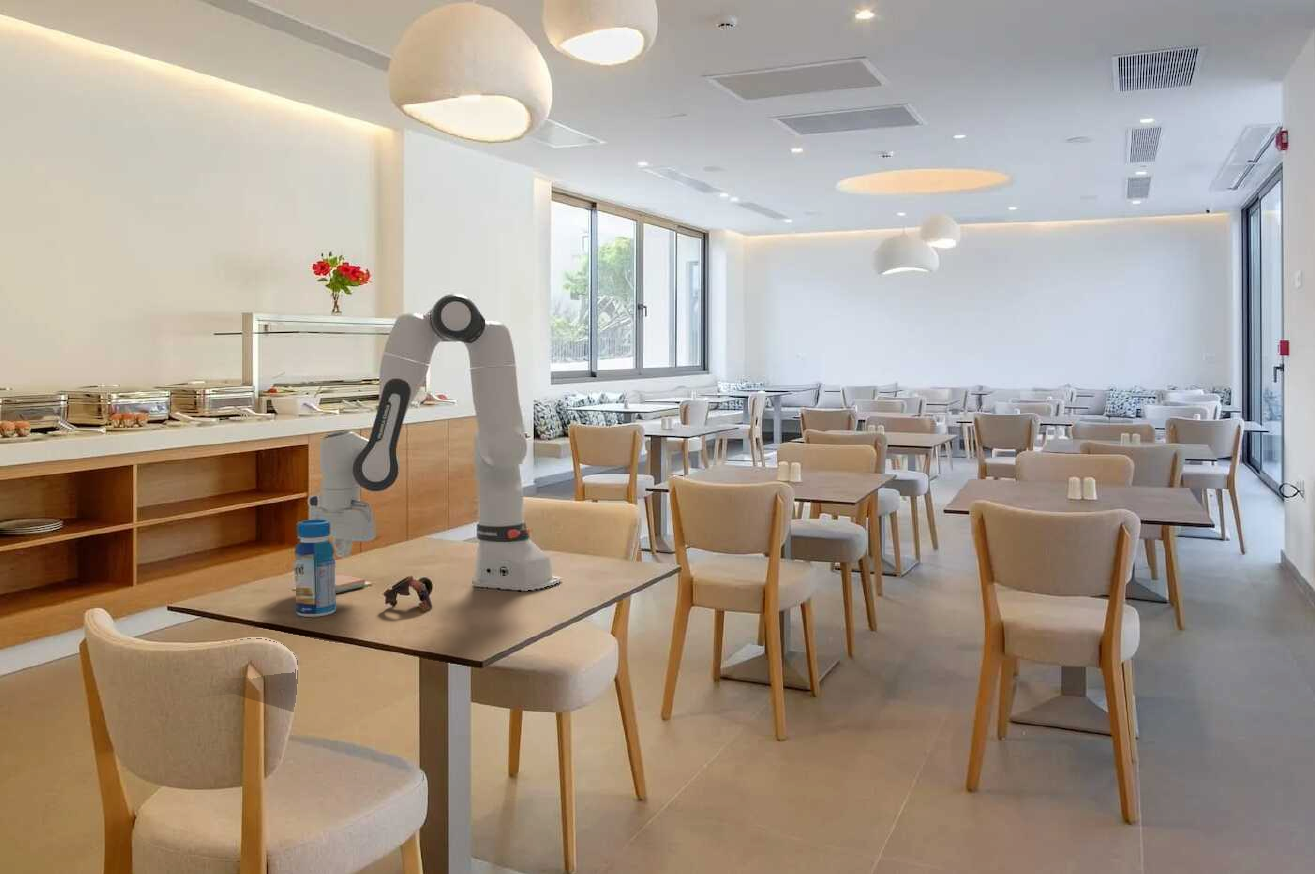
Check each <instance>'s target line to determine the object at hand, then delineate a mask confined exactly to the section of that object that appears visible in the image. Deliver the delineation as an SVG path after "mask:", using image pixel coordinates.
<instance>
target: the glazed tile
mask: <svg viewBox="0 0 1315 874" xmlns="http://www.w3.org/2000/svg"><path fill="white" fill-rule="evenodd" d="M365 582H366V579H365V578H360V577H355V576H349V575H345V574H338V575H335V592H340V593H342V592H341V591H344V592H346V591H345V590H348V591H350V590H349V589H352V590H354V589H353V588H357V589H359V588H358V587H361V588H363V587H362V586H365ZM365 587H366V586H365Z"/></svg>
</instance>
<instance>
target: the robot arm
mask: <svg viewBox="0 0 1315 874" xmlns="http://www.w3.org/2000/svg"><path fill="white" fill-rule="evenodd" d="M440 342H452V343H453V342H454V343H455V342H462V343H463V345H465V348H466V349H467V353H468V357H469V359H468V360H469V367H470V368H469V371H470V381H471V393H472V402H473V405H474V412H475V415H476V423H477V428H478V430H477V432H476V433H475V435H474V438H473V439H474V440H473V451H474V467H475V475H476V476H475V477H476V484H477V485H476V487H477V503H478V505H477V506H478V509H477V510H478V511H477V512H478V513H477V514H478V515H477V516H478V523H477V524H476V538H477V540H478V545H477V554H476V564H475V570H474V574H473V578H472V581H473V585H474V586H473V587H477V588H487V587H488V589H497V588H500V589H499V590H507V589H508V590H509V589H510V590H509V591H518V590H521V592H529V591H528V590H532V591H536V590H535V589H538V590H540V589H539V588H543V589H545V588H544V587H547V586H550V585H552V584H555V583H558V584H560V583H561V582H562V581H561V580H562V577H561V576H558V575H555V574H553V570H552V563H551V560H550V556H548V555H547V554H546V553H545V552H544V551H543V550H542V549H541V548H540V547H539V546H538V545H537V544H535V543H534V541H532V539H531V538H530V537H531V536H530V533H532V532H533V530H531V529H533V526H532V527H531V526H530V527H527V524H526V522H525V521H524V519H525V518H524V490H523V489H524V488H523V482H522V477H521V470H520V464H521V463H522V462H523V461H524V460H525V458H526V456H527V454H528V443H527V438H526V431H525V423H524V419H523V414H522V413H523V412H522V407H521V404H520V397H519V388H518V377H517V376H518V375H517V365H516V355H515V351H514V350H515V349H514V345H513V340H512V337H511V333H510V330H509V328H508V327H507V326H506V325H505V324H503V323H502V322H499V321H495V320H486V319H485V318H484V316H483V315H482V313H481V312H480V310H479V309H478V307H477V306H476V304H475V303H474V302H473V301H472V300H471V299H470V298H468V297H467V296H465V295H463V294H458V293H450V294H447V295H445V296H442V297H441V298H439V299H438V300H437V301H436V302H435V303H434V305H433V307H432V308H431V309H430V310H429V311H428V312H427V313H426V314H420V313H415V312H407V313H403V314H401V315H399V316H398V317H397V318H396V320H395V321H394V324H393V326H392V328H391V330H390V332H389V335H388V337H387V340H386V342H385V345H384V349H383V353H382V356H381V360H380V367H379V376H378V377H379V378H378V379H379V380H378V388H379V389H378V391H379V392H378V393H379V394H378V396H379V397H378V405H377V406H378V408H377V411H376V414H375V417H374V421H373V425H372V429H371V432H370V437H369V439H367V438H365V437H363V436H362V435H359V434H358V433H357V432H355V431H354V430H343V431H342V430H341V431H336V432H333V433H330V434H327V435H326V436H325V437H324V438H323V439H322V440H321V443H320V447H319V469H320V473H321V485H320V492H319V493H316V494H314V495H311V496H309V497H308V498H307V504H308V506H309V509H308V520H315V519H322V520H328V521H329V522H330V536H329V537H328V538H331V543H332V545H333V548H334V550H335V551H336V552H335V553H336V554H335V555H336V557H339V558H343V559H344V558H345V559H347V558H349V557H351V549H352V547H353V544H354V541H355V542H362V543H364V542H365V543H366V542H372V541H373V540H375V537H376V536H377V535H376V534H377V533H376V523H375V518H374V513H373V512H372V507H371V505H369V504H368V502H366V501H361V488H363V489H365V490H367V491H369V492H370V491H371V492H382V491H385V490H387V489H389V488H390V487H392V485H394V483H395V482H396V480H397V478H398V476H399V475H398V474H399V467H400V466H399V465H400V460H399V456H398V455H399V454H397V447H398V443H399V440H400V435H401V431H402V427H403V425H404V420H405V417H406V414H407V412H408V410H409V407H410V406H411V405H412V403H413V401H414V399H415V398H416V397H417V395H418V394H419V391H420V390H421V389H422V386H423V384H424V382H425V380H426V377H427V374H428V371H429V367H430V364H431V360H432V356H433V354H434V350H435V348H436V346H437V345H438V344H439V343H440ZM559 582H560V583H559ZM550 587H551V586H550ZM547 588H548V587H547Z"/></svg>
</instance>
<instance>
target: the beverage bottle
mask: <svg viewBox="0 0 1315 874" xmlns="http://www.w3.org/2000/svg"><path fill="white" fill-rule="evenodd" d="M296 533H297V534H296V535H297V538H298V539H300V540H299V542H298V543H297V545H296V547H295V549H294V554H293V555H294V558H295V562H294V563H293V569H294V576H295V578H294V579H295V581H294V582H295V587H296V590H295V599H296V600H295V603H296V607H295V612H296V614H297V615H298V616H300V617H305V618H319V617H324V616H325V617H326V616H329V615H332V614H333V613H335V612H336V610H337V603H336V601H337V600H336V594H335V576H336V570H335V569H336V560H335V558H334V554H335V547H334V545H333V543H332V541H330V540H329V538H330V537H329V536H330V522H329V521H328V520H322V519H315V520H309V519H307V520H301V521H298V522H297V523H296Z"/></svg>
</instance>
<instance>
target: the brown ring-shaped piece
mask: <svg viewBox="0 0 1315 874" xmlns="http://www.w3.org/2000/svg"><path fill="white" fill-rule="evenodd" d="M410 587H411V588H412V589H413V590H414V591H416V593H417V596H418V599H419V601H420V602H419V604H418V606H419V607H420V608H421V611H422V613H426V612H427V611H429V609H431V608H432V607H433V604H432V602H431V598H430V596H431V594H432V592H433V587H434V585H433V582H432V580H431V579H430V578H429V577H426V576H425V577H421V578H419V579H418V580H417V579H414V577H413V575H409V576H406V577H405V578H403V579H401V580H399V581H398V582H397V583H395V584H393V585H392V586H391V589H389V588H387V589H386V590H385V592H383V593H382V595H383V596H384V598H385V600H384V602H385V603H384V604H385V605H388V604H389V605H390V606H391V607H392V608H395V607H396V606H397V604H398V600H397V598H398V597H397V596H398V595H400V596H410V595H411V593H410Z"/></svg>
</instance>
